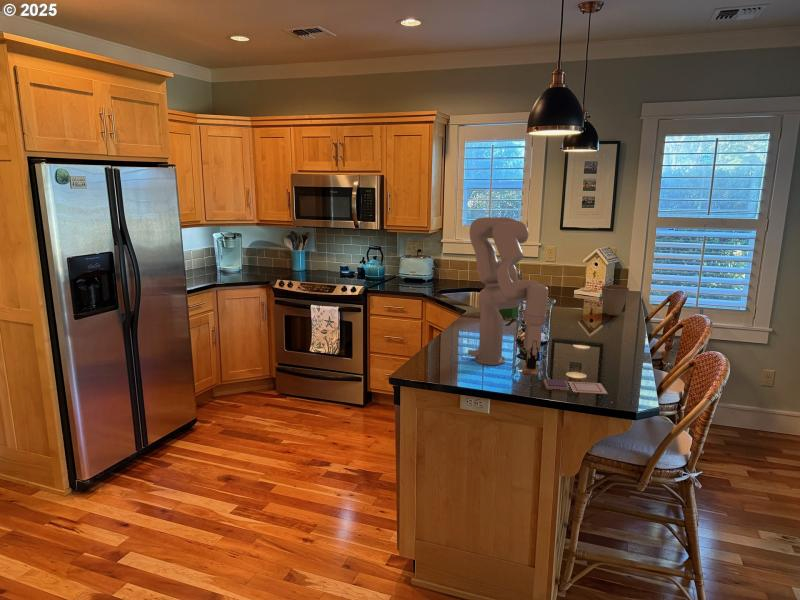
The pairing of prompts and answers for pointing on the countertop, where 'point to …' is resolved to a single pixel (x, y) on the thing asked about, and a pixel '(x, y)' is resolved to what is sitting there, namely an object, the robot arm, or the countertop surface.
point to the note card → (587, 387)
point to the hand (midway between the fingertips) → (530, 366)
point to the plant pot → (614, 298)
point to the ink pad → (556, 384)
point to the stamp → (529, 371)
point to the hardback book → (506, 312)
